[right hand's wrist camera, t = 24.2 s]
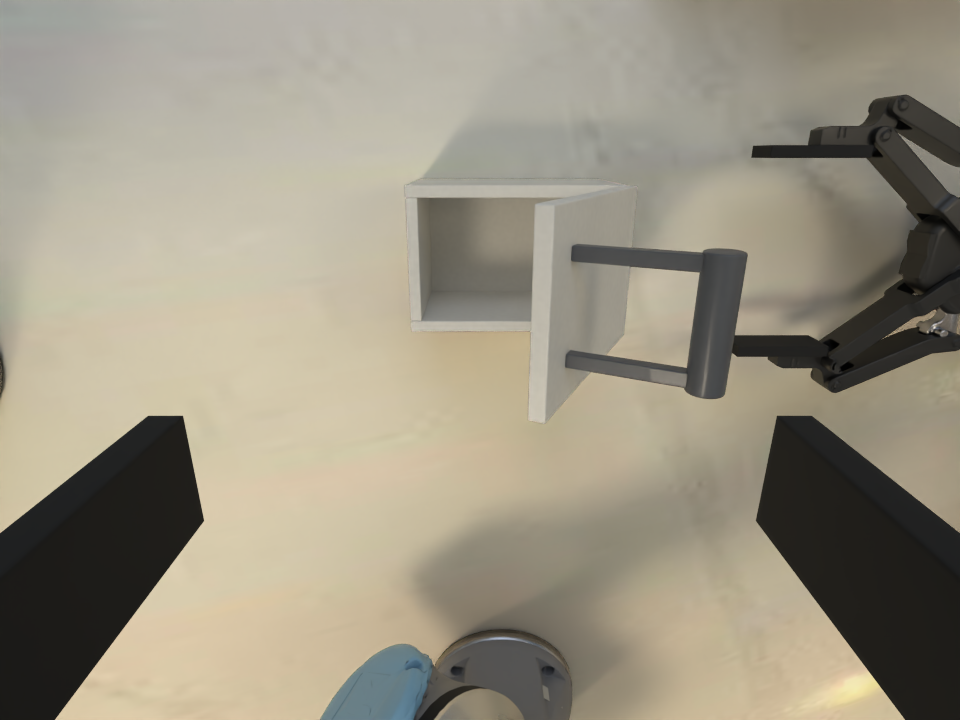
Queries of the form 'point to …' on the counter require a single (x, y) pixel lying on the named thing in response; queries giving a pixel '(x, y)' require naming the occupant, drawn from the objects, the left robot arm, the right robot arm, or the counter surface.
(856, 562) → the right robot arm
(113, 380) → the counter surface
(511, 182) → the white cabinet body
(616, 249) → the lid
